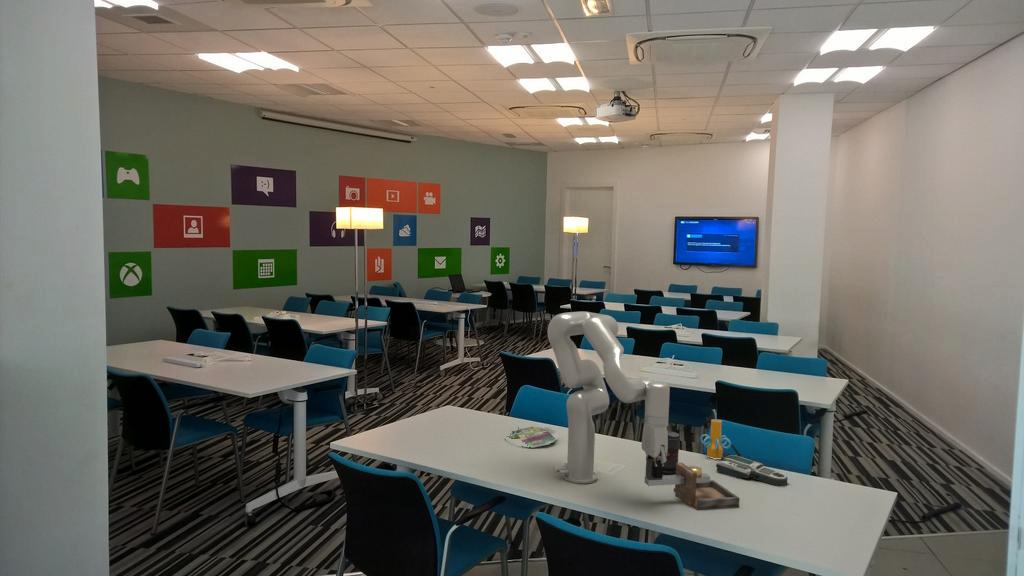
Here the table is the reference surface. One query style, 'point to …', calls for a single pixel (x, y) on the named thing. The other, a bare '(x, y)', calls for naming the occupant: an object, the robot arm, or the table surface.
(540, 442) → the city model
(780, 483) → the communication device
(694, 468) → the gold dome
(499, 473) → the table surface
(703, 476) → the grey sliding bolt
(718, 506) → the guide frame
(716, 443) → the orange vase with handles
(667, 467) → the camera lens
